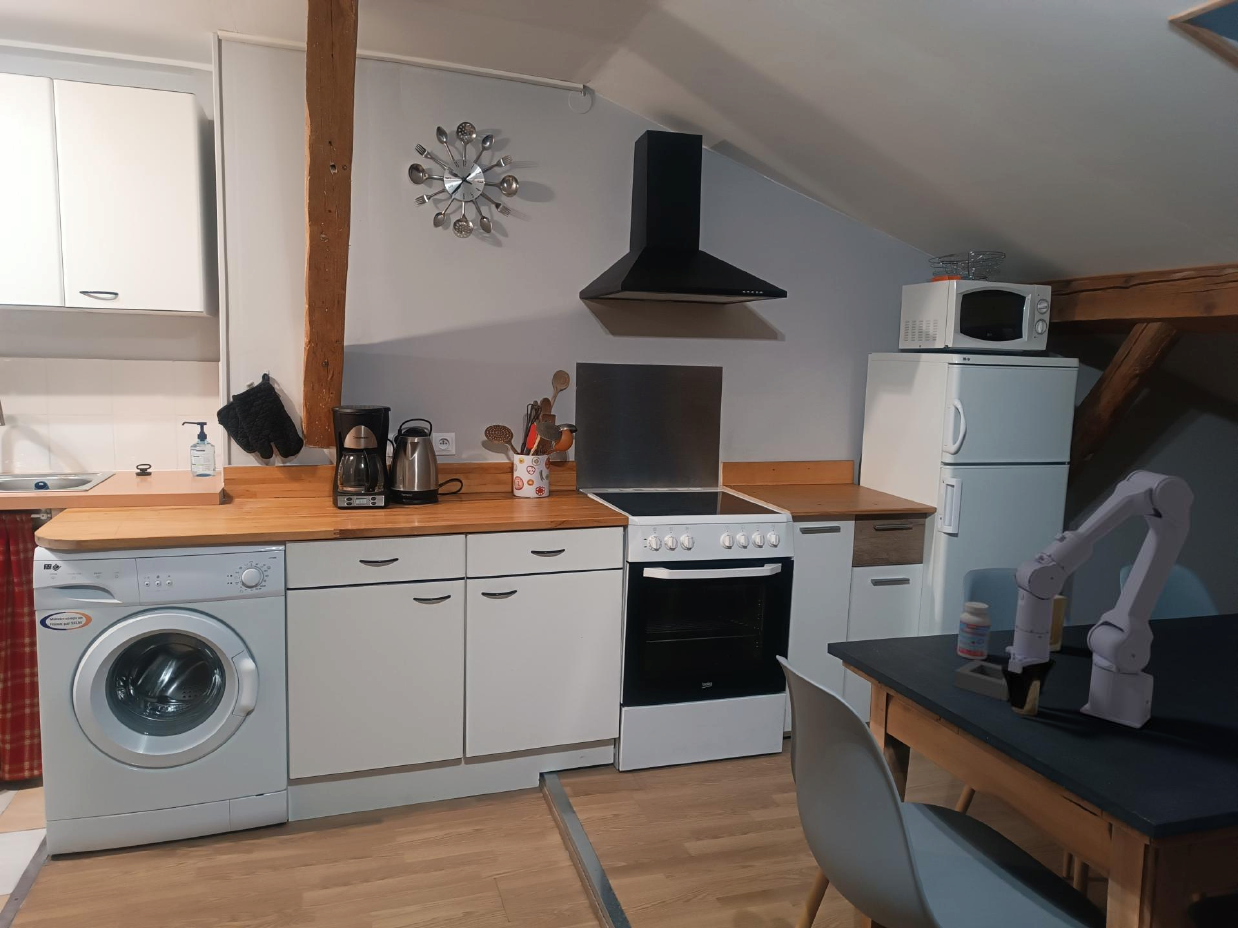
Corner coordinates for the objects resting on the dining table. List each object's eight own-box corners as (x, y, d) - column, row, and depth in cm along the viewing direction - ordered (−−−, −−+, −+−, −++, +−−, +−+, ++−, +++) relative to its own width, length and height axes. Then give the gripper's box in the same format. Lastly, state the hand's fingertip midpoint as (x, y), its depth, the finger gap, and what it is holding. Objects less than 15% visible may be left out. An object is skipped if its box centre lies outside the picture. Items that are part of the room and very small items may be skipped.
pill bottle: (955, 656, 184) (959, 605, 183) (958, 649, 190) (963, 599, 188) (985, 662, 182) (990, 610, 180) (988, 654, 187) (993, 603, 186)
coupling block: (1025, 688, 167) (1027, 673, 167) (1006, 701, 160) (1007, 685, 160) (974, 673, 174) (975, 659, 174) (953, 685, 167) (954, 670, 167)
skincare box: (1023, 643, 196) (1028, 590, 194) (1037, 641, 198) (1042, 589, 196) (1048, 652, 190) (1054, 598, 188) (1062, 650, 192) (1067, 596, 190)
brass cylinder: (1040, 711, 156) (1043, 679, 156) (1032, 717, 153) (1035, 684, 153) (1017, 704, 159) (1020, 673, 158) (1008, 710, 156) (1012, 678, 155)
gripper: (1024, 616, 162) (1017, 685, 164) (993, 630, 152) (986, 705, 154) (1064, 625, 157) (1056, 697, 159) (1036, 641, 147) (1028, 717, 149)
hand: (1025, 702), depth 156 cm, fingers open, 7 cm apart
